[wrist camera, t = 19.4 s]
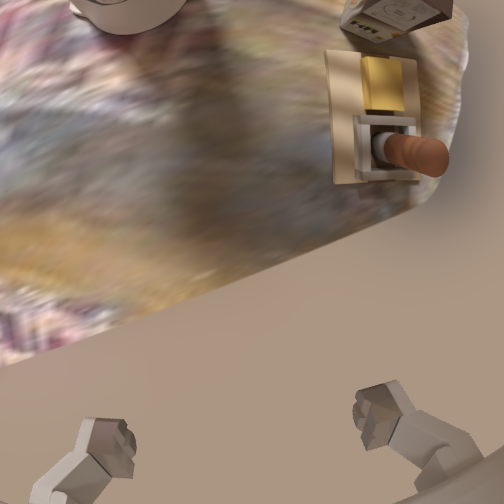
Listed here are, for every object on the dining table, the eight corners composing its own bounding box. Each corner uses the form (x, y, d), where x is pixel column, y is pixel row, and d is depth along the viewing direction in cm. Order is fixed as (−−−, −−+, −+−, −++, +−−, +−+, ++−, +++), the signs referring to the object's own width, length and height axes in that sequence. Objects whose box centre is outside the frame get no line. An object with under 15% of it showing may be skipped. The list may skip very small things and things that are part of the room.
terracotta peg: (368, 131, 37) (421, 138, 26) (393, 131, 37) (449, 140, 26) (369, 160, 39) (420, 177, 28) (394, 160, 39) (448, 177, 28)
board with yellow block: (324, 51, 33) (333, 46, 30) (412, 61, 34) (426, 58, 31) (333, 183, 41) (342, 188, 37) (417, 178, 42) (430, 183, 38)
